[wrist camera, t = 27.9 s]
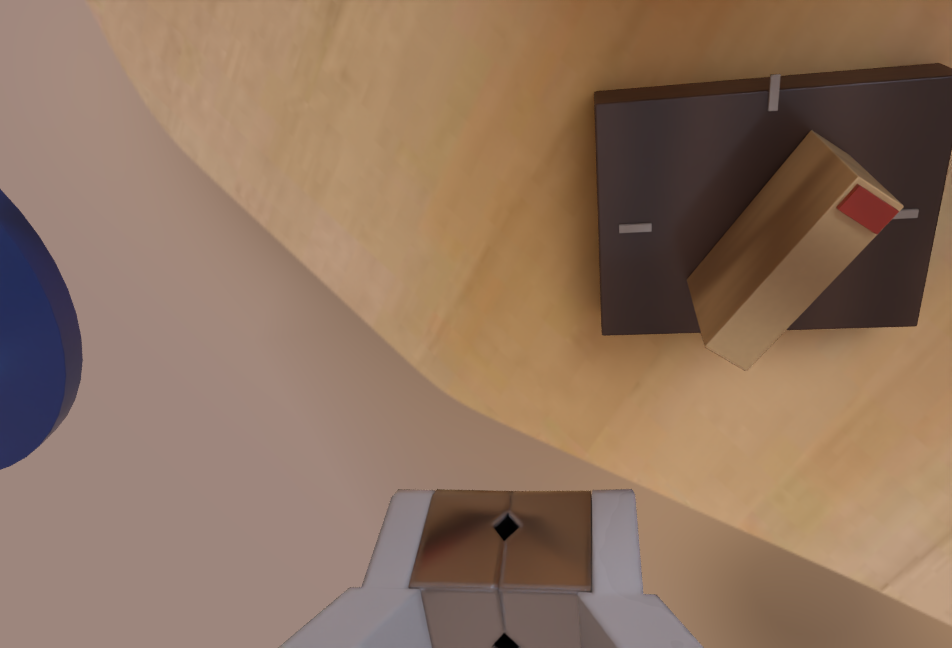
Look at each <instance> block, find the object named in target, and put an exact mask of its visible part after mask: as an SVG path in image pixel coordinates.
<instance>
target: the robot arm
mask: <svg viewBox="0 0 952 648" xmlns="http://www.w3.org/2000/svg"><path fill="white" fill-rule="evenodd" d="M278 648H703V646H702V645H701V644H700V643H699V642H698V641H697V640H696V638H695V637H694V636H693V635H692V634H691V633H690V632H689V631H688V630H687V628H686V627H685V626H684V625H683V624H682V623H681V622H680V621H679V619H678V618H677V617H676V616H675V615H674V614H673V613H672V612H671V610H670V609H669V608H668V607H667V606H666V605H665V604H664V603H663V601H662V600H661V599H660V598H659V597H658V596H657V595H655V594H643V584H642V572H641V560H640V548H639V535H638V523H637V511H636V499H635V494H634V492H633V490H632V489H620V490H619V489H616V490H592V495H591V491H483V490H440V489H437V490H436V491H435V490H410V489H398V490H397V492H396V493H395V494H394V495H393V496H392V498H391V501H390V504H389V507H388V510H387V513H386V516H385V518H384V522H383V524H382V528H381V530H380V533H379V536H378V540H377V542H376V545H375V548H374V551H373V554H372V557H371V560H370V563H369V566H368V569H367V572H366V575H365V578H364V581H363V584H362V587H361V588H360V587H359V588H358V587H350V588H348V589H347V590H346V591H345V592H344V593H343V594H341V595H340V596H339V597H338V598H336V599H335V600H334V601H333V602H332V603H331V604H329V605H328V606H327V607H326V608H325V609H323V610H322V611H321V612H320V613H319V614H317V615H316V616H315V617H314V618H313V619H312V620H310V621H309V622H308V623H307V624H306V625H304V626H303V627H302V628H301V629H300V630H299V631H297V632H296V633H295V634H294V635H293V636H291V637H290V638H289V639H288V640H287V641H286V642H284V643H283V644H282V645H281V646H280V647H278Z"/></svg>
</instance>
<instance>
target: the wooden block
mask: <svg viewBox="0 0 952 648" xmlns="http://www.w3.org/2000/svg"><path fill="white" fill-rule="evenodd" d="M903 207H904V206H903V205H902V204H901V203H900V202H899V201H898V200H897V199H896V198H895V197H894V196H893V195H892V194H891V193H889V192H888V191H887V190H886V189H885V188H884V187H883V186H882V185H881V184H880V183H879V182H878V181H877V180H876V179H875V178H873V177H872V176H871V175H870V174H869V173H868V172H867V171H866V170H865V169H864V168H863V167H862V166H861V165H860V164H859V163H857V162H856V161H855V160H854V159H853V158H852V157H851V156H850V155H849V154H847V153H846V152H844V151H843V150H841V149H840V148H838V147H837V146H835V145H834V144H832V143H831V142H829V141H827V140H826V139H824V138H823V137H821V136H820V135H818V134H817V133H815V132H814V131H812V130H811V131H810V132H809V133H808V134H807V136H806V137H805V138H804V139H803V141H802V142H801V143H800V144H799V145H798V147H797V148H796V149H795V150H794V151H793V153H792V154H791V155H790V156H789V157H788V159H787V160H786V161H785V162H784V163H783V165H782V166H781V167H780V168H779V169H778V171H777V172H776V173H775V174H774V175H773V177H772V178H771V179H770V180H769V181H768V183H767V184H766V185H765V186H764V187H763V189H762V190H761V191H760V192H759V193H758V195H757V196H756V197H755V198H754V199H753V201H752V202H751V203H750V204H749V205H748V207H747V208H746V209H745V210H744V211H743V213H742V214H741V215H740V216H739V217H738V219H737V220H736V221H735V222H734V223H733V225H732V226H731V227H730V228H729V229H728V231H727V232H726V233H725V234H724V235H723V237H722V238H721V239H720V240H719V241H718V243H717V244H716V245H715V246H714V247H713V249H712V250H711V251H710V252H709V253H708V255H707V256H706V257H705V258H704V260H703V261H702V262H701V263H700V264H699V266H698V267H697V268H696V269H695V270H694V272H693V273H692V274H691V275H690V276H689V278H688V279H687V283H688V287H689V291H690V294H691V298H692V302H693V305H694V309H695V313H696V316H697V320H698V324H699V327H700V331H701V335H702V339H703V342H704V346H705V348H707V349H709V350H711V351H712V352H714V353H716V354H717V355H719V356H721V357H722V358H724V359H726V360H727V361H729V362H731V363H732V364H734V365H736V366H738V367H739V368H741V369H743V370H744V371H747V370H748V369H749V368H750V367H751V366H752V365H753V364H754V363H755V362H756V361H757V360H758V359H759V358H760V357H761V356H762V355H763V354H764V353H765V352H766V351H767V349H768V348H769V347H770V346H771V345H772V344H773V343H774V342H775V341H776V340H777V339H778V338H779V337H780V336H781V335H782V334H783V333H784V332H785V331H786V330H787V329H788V328H789V326H790V325H791V324H792V323H793V322H794V321H795V320H796V319H797V318H798V317H799V316H800V315H801V314H802V313H803V312H804V311H805V310H806V309H807V308H808V307H809V306H810V305H811V304H812V302H813V301H814V300H815V299H816V298H817V297H818V296H819V295H820V294H821V293H822V292H823V291H824V290H825V289H826V288H827V287H828V286H829V285H830V284H831V283H832V282H833V281H834V279H835V278H836V277H837V276H838V275H839V274H840V273H841V272H842V271H843V270H844V269H845V268H846V267H847V266H848V265H849V264H850V263H851V262H852V261H853V260H854V259H855V258H856V256H857V255H858V254H859V253H860V252H861V251H862V250H863V249H864V248H865V247H866V246H867V245H868V244H869V243H870V242H871V241H872V240H873V239H874V238H875V237H876V236H877V235H878V234H879V232H880V231H881V230H882V229H883V228H884V227H885V226H886V225H887V224H888V223H889V222H890V221H891V220H892V219H893V218H894V217H895V216H896V215H897V214H898V213H899V212H900V211H901V209H902V208H903Z"/></svg>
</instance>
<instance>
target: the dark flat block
mask: <svg viewBox="0 0 952 648" xmlns="http://www.w3.org/2000/svg"><path fill="white" fill-rule="evenodd" d="M594 110H595V141H596V173H597V204H598V236H599V267H600V299H601V327H602V335H604V336H605V335H639V334H672V333H701V331H700V327H699V324H698V320H697V316H696V313H695V309H694V305H693V302H692V298H691V294H690V291H689V287H688V283H687V279H688V278H689V276H690V275H691V274H692V273H693V272H694V270H695V269H696V268H697V267H698V266H699V264H700V263H701V262H702V261H703V260H704V258H705V257H706V256H707V255H708V253H709V252H710V251H711V250H712V249H713V247H714V246H715V245H716V244H717V243H718V241H719V240H720V239H721V238H722V237H723V235H724V234H725V233H726V232H727V231H728V229H729V228H730V227H731V226H732V225H733V223H734V222H735V221H736V220H737V219H738V217H739V216H740V215H741V214H742V213H743V211H744V210H745V209H746V208H747V207H748V205H749V204H750V203H751V202H752V201H753V199H754V198H755V197H756V196H757V195H758V193H759V192H760V191H761V190H762V189H763V187H764V186H765V185H766V184H767V183H768V181H769V180H770V179H771V178H772V177H773V175H774V174H775V173H776V172H777V171H778V169H779V168H780V167H781V166H782V165H783V163H784V162H785V161H786V160H787V159H788V157H789V156H790V155H791V154H792V153H793V151H794V150H795V149H796V148H797V147H798V145H799V144H800V143H801V142H802V141H803V139H804V138H805V137H806V136H807V134H808V133H809V132H810V131H811V130H812V131H814V132H815V133H817V134H818V135H820V136H821V137H823V138H824V139H826V140H827V141H829V142H831V143H832V144H834V145H835V146H837V147H838V148H840V149H841V150H843V151H844V152H846V153H847V154H849V155H850V156H851V157H852V158H853V159H854V160H855V161H856V162H857V163H859V164H860V165H861V166H862V167H863V168H864V169H865V170H866V171H867V172H868V173H869V174H870V175H871V176H872V177H873V178H875V179H876V180H877V181H878V182H879V183H880V184H881V185H882V186H883V187H884V188H885V189H886V190H887V191H888V192H889V193H891V194H892V195H893V196H894V197H895V198H896V199H897V200H898V201H899V202H900V203H901V204H902V205H903V206H904V207H903V208H902V209H901V211H900V212H899V213H898V214H897V215H896V216H895V217H894V218H893V219H892V220H891V221H890V222H889V223H888V224H887V225H886V226H885V227H884V228H883V229H882V230H881V231H880V232H879V234H878V235H877V236H876V237H875V238H874V239H873V240H872V241H871V242H870V243H869V244H868V245H867V246H866V247H865V248H864V249H863V250H862V251H861V252H860V253H859V254H858V255H857V256H856V258H855V259H854V260H853V261H852V262H851V263H850V264H849V265H848V266H847V267H846V268H845V269H844V270H843V271H842V272H841V273H840V274H839V275H838V276H837V277H836V278H835V279H834V281H833V282H832V283H831V284H830V285H829V286H828V287H827V288H826V289H825V290H824V291H823V292H822V293H821V294H820V295H819V296H818V297H817V298H816V299H815V300H814V301H813V302H812V304H811V305H810V306H809V307H808V308H807V309H806V310H805V311H804V312H803V313H802V314H801V315H800V316H799V317H798V318H797V319H796V320H795V321H794V322H793V323H792V324H791V325H790V326H789V328H788V329H787V330H807V329H841V328H874V327H908V326H917V322H918V317H919V312H920V307H921V302H922V297H923V292H924V287H925V282H926V277H927V271H928V266H929V261H930V256H931V251H932V246H933V241H934V236H935V231H936V226H937V221H938V216H939V211H940V205H941V200H942V195H943V190H944V185H945V180H946V175H947V170H948V165H949V160H950V155H951V150H952V68H949V67H947V66H945V65H942V64H940V63H934V64H922V65H910V66H897V67H885V68H873V69H861V70H849V71H837V72H825V73H813V74H801V75H788V76H781V75H780V74H771V75H770V77H764V78H752V79H740V80H728V81H716V82H704V83H692V84H679V85H667V86H655V87H643V88H631V89H619V90H607V91H596V92H594Z"/></svg>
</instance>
